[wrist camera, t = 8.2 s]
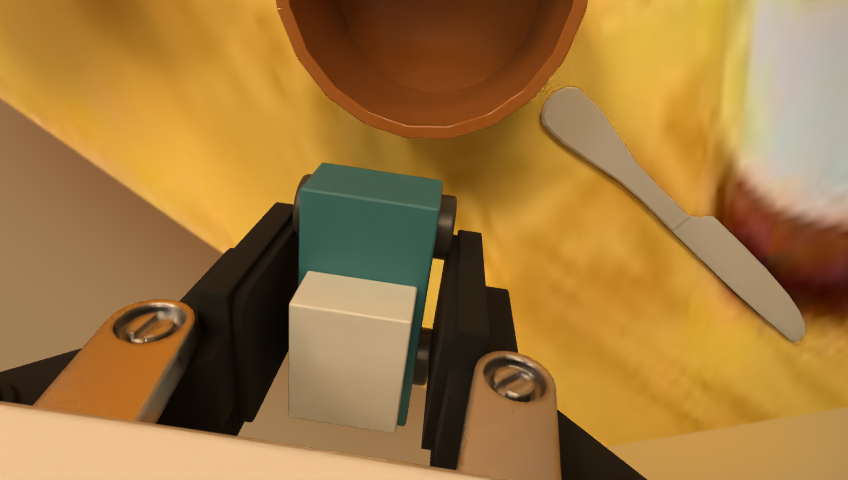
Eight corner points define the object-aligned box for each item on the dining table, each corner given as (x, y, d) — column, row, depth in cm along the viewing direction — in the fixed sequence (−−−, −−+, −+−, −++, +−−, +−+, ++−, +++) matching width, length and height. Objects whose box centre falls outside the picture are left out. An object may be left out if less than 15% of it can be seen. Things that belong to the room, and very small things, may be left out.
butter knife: (573, 73, 26) (532, 115, 27) (825, 327, 31) (783, 353, 32) (571, 72, 26) (531, 113, 27) (820, 323, 32) (779, 349, 33)
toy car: (426, 368, 13) (415, 474, 10) (306, 350, 13) (261, 451, 10) (460, 174, 11) (459, 241, 8) (311, 151, 11) (254, 210, 8)
